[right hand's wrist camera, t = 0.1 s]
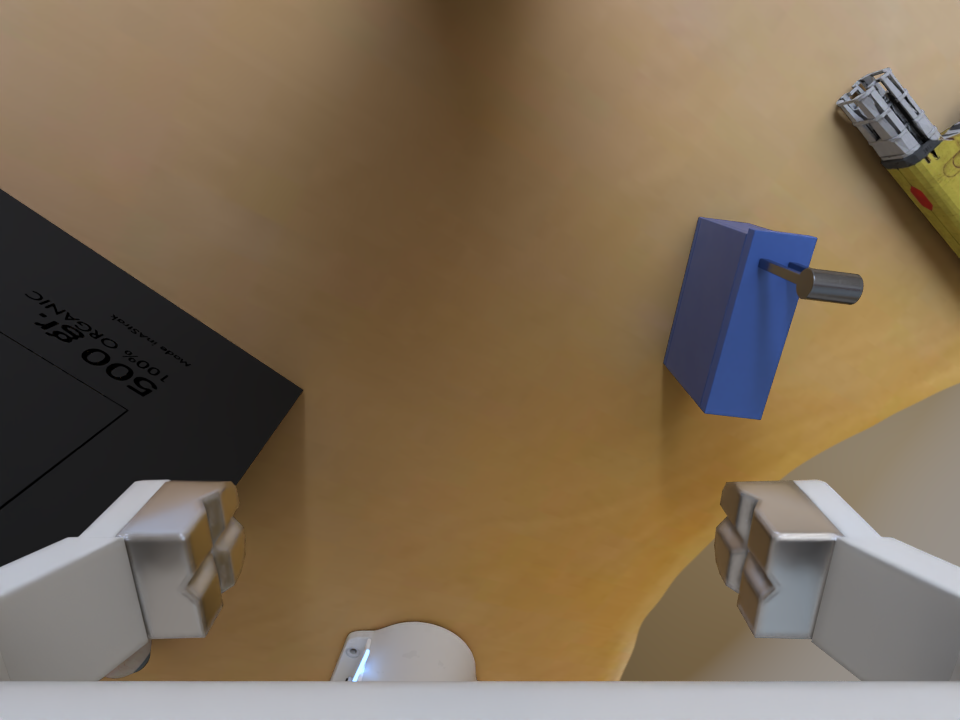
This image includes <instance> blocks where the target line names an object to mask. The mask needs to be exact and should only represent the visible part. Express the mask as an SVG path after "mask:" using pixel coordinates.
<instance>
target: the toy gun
mask: <svg viewBox="0 0 960 720" xmlns="http://www.w3.org/2000/svg"><path fill="white" fill-rule="evenodd" d="M891 71H892V70H891V69H890V68H885V69H882V70H879V71H876V72H873V73H870V74H867V75H865V76H864V77H862V78H861V79H859V80H858V81H857V82H856V83H855V84H854V85H853V86H852V88H853V90H852V91H851V92H850V93H846V94H844V95H843V96H842V97H841V98H840V99H839V100H838V101H837V103H836V104H837V105H838V107H839V106H840V107H841V108H842V109H843V111H844V112H845V113H846V115H847V116H848V117H849V118H850V120H851V121H852V122H853V123H852V124H853V125H854V126H856V127H857V128H858V129H859V131H860V132H861V133H862V134H863V136H864V137H865V138H866V139H867V141H868V144H869V145H870V146H872V147H873V148H874V149H875V151H876V152H877V154H878V155H879V157H880V158H881V164H882V165H883V166H884V167H885V168H886V169H887V170H888V172H889V173H890V174H891V175H892V177H893V178H894V179H895V180H896V181H897V183H898V184H899V185H900V186H901V188H902V189H903V190H904V191H905V192H906V194H907V195H908V196H909V197H910V199H911V200H912V201H913V202H914V203H915V205H916V206H917V207H918V208H919V209H920V211H921V212H922V213H923V214H924V216H925V217H926V218H927V219H928V220H929V222H930V223H931V224H932V225H933V227H934V228H935V229H936V230H937V231H938V233H939V234H940V235H941V236H942V238H943V239H944V240H945V241H946V242H947V244H948V245H949V246H950V247H951V249H952V250H953V251H954V252H955V253H956V255H957V256H958V257H959V258H960V122H958V123H956V124H955V125H953V126H952V127H951V128H948V129H947V130H945V131H944V132H942V133H941V134H940V133H939V132H938V131H937V128H936V126H935V125H932V124H931V122H930V121H929V119H928V118H927V117H926V115H925V114H924V111H923V110H921V109H920V108H919V106H918V105H917V104H916V103H915V101H914V100H913V99H912V97H911V96H910V95H909V93H908V91H907V89H904V88H903V87H902V86H901V84H900V83H899V82H898V80H897V79H896V77H895V76H894V75H893V73H892V72H891ZM881 73H885V74H884V75H882V76H881V77H879V78H878V79H875V78H874V77H873V76H875V75H878V74H881ZM880 81H881V82H882V84H883V85H884V86H885V88H886V89H887V91H885V90H884V89H883V88H882V87H881V85H880V84H879V83H878V82H880ZM860 83H861V84H862V85H863V86H864V87H865V89H866V91H864V90H862V89H861V88H860V87H859V86H858V85H859V84H860ZM855 92H856V93H857V94H858V96H856V97H855V98H854V99H853V100H851V99H850V97H849V96H851V95H853V94H854V93H855ZM854 102H855V103H856V104H857V105H858V107H857V106H856V105H855V104H854Z"/></svg>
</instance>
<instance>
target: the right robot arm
mask: <svg viewBox="0 0 960 720" xmlns="http://www.w3.org/2000/svg"><path fill="white" fill-rule="evenodd" d="M239 505H240V502H239V497H238V492H237V487H236V486H235V485H234V484H233V483H232V482H231V481H193V480H172V481H171V480H141V481H136V482H134V483H133V484H132V485H131V486H130V487H129V488H128V489H127V490H126V491H125V492H124V493H123V494H122V495H121V496H120V497H119V498H118V499H117V500H116V501H115V502H114V503H113V504H112V505H111V506H110V507H109V508H108V509H107V510H106V511H104V512H103V513H102V514H101V515H100V516H99V517H98V518H97V519H96V520H95V521H94V522H93V523H92V524H91V525H90V526H89V527H88V528H87V529H86V530H85V531H84V532H83V533H82V534H81V535H80V536H79V537H68V538H65V539H63V540H61V541H58V542H56V543H54V544H52V545H49V546H47V547H45V548H43V549H40V550H38V551H36V552H33V553H31V554H29V555H27V556H24V557H22V558H20V559H18V560H15V561H13V562H11V563H9V564H6V565H4V566H2V567H0V720H960V567H958V566H956V565H953V564H951V563H949V562H947V561H944V560H942V559H940V558H938V557H935V556H933V555H931V554H929V553H926V552H924V551H922V550H920V549H917V548H915V547H913V546H911V545H908V544H906V543H904V542H902V541H899V540H897V539H895V538H892V537H881V536H880V535H879V534H878V533H877V532H876V531H875V530H874V529H873V528H872V527H871V526H870V525H869V524H868V523H867V522H866V521H865V520H864V519H863V518H862V517H861V516H860V515H859V514H858V513H857V512H856V511H855V510H854V509H853V508H852V507H851V506H850V505H848V504H847V503H846V502H845V501H844V500H843V499H842V498H841V497H840V496H839V495H838V494H837V493H836V492H835V491H834V490H833V489H832V488H831V487H830V486H829V485H828V484H827V483H826V482H823V481H821V480H818V479H815V480H790V481H750V482H726V484H725V486H724V489H723V491H722V496H721V501H720V505H721V507H722V508H723V510H724V511H725V513H726V515H727V517H726V518H725V519H724V520H723V521H722V522H721V523H720V524H719V525H718V526H717V527H716V534H715V542H714V548H715V557H716V563H717V567H718V570H719V573H720V575H721V577H722V579H723V581H724V583H725V585H726V586H728V587H730V588H731V589H732V590H734V591H735V592H737V593H738V594H739V595H738V601H737V607H738V608H739V610H740V612H741V614H742V615H743V617H744V619H745V621H746V623H747V624H748V626H749V628H750V630H751V632H752V633H753V635H754V637H755V638H790V639H812V642H813V643H814V644H815V645H816V646H818V647H819V648H820V649H821V650H823V651H824V652H825V653H827V654H828V655H829V656H830V657H832V658H833V659H834V660H836V661H837V662H838V663H839V664H841V665H842V666H843V667H844V668H846V669H847V670H848V671H850V672H851V673H852V674H853V675H855V676H856V677H857V678H858V679H860V680H861V681H99V680H100V679H102V678H103V677H104V676H106V675H107V674H108V673H109V672H111V671H112V670H113V669H115V668H116V667H117V666H118V665H120V664H121V663H122V662H123V661H125V660H126V659H127V658H129V657H130V656H131V655H132V654H134V653H135V652H136V651H138V650H139V649H140V648H141V647H143V646H144V645H145V644H146V643H148V639H170V638H205V637H206V635H207V633H208V632H209V630H210V628H211V626H212V625H213V623H214V621H215V619H216V617H217V616H218V614H219V612H220V610H221V608H222V607H223V601H222V595H221V594H222V593H223V592H225V591H226V590H228V589H229V588H231V587H232V586H234V585H235V583H236V581H237V579H238V577H239V575H240V573H241V570H242V566H243V562H244V558H245V542H246V540H245V533H244V527H243V526H242V525H241V524H240V523H239V522H238V521H237V520H236V519H235V518H234V517H233V515H234V513H235V511H236V510H237V508H238V507H239Z"/></svg>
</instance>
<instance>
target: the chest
mask: <svg viewBox="0 0 960 720" xmlns="http://www.w3.org/2000/svg"><path fill="white" fill-rule="evenodd" d="M749 228H755V229H762V230H769V229H766V228H762V227H759V226H756V225H753V224H749V223H743V222H735V221H727V220H719V219H712V218H704V217H699V218H698V222H697V226H696V231H695V235H694V239H693V243H692V247H691V251H690V255H689V259H688V263H687V268H686V272H685V276H684V280H683V284H682V288H681V292H680V296H679V300H678V304H677V309H676V313H675V317H674V321H673V325H672V329H671V333H670V337H669V341H668V346H667V350H666V354H665V358H664V362H663V363H664V365H665V366H666V367H667V368H668V370H669V371H670V372H671V373H672V374H673V376H674V377H675V378H676V379H677V381H678V382H679V383H680V384H681V385H682V387H683V388H684V389H685V390H686V391H687V393H688V394H689V395H690V396H691V398H692V399H693V400H694V401H695V402H696V404H697V405H698V406H699V407H700V405H701V402H702V398H703V395H704V391H705V387H706V384H707V380H708V376H709V373H710V369H711V365H712V362H713V358H714V354H715V351H716V347H717V343H718V340H719V336H720V332H721V329H722V325H723V321H724V318H725V314H726V310H727V307H728V303H729V299H730V296H731V292H732V288H733V285H734V281H735V277H736V274H737V270H738V266H739V263H740V259H741V255H742V252H743V248H744V244H745V241H746V237H747V233H748V230H749ZM770 231H772V230H770Z"/></svg>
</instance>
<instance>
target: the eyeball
mask: <svg viewBox="0 0 960 720" xmlns="http://www.w3.org/2000/svg"><path fill="white" fill-rule="evenodd" d="M150 651H151V639H148V643H146V644H145V645H144V646H143V647H141V648H140V649H139V650H138V651H136V652H135V653H134V654H132V655H131V656H130V657H129V658H127V659H126V660H125V661H123V662H122V663H121V664H120V665H118V666H117V667H116V668H115V669H113V670H112V671H111V672H109V673H108V674H107V675H106V676H105V677H108V678H121V677H125V676H127V675H130V674H132V673H135V672H137V671H139V670H141V669H142V668H144V666H145V665H146V664H147V663H148V661H149V658H150Z"/></svg>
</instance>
